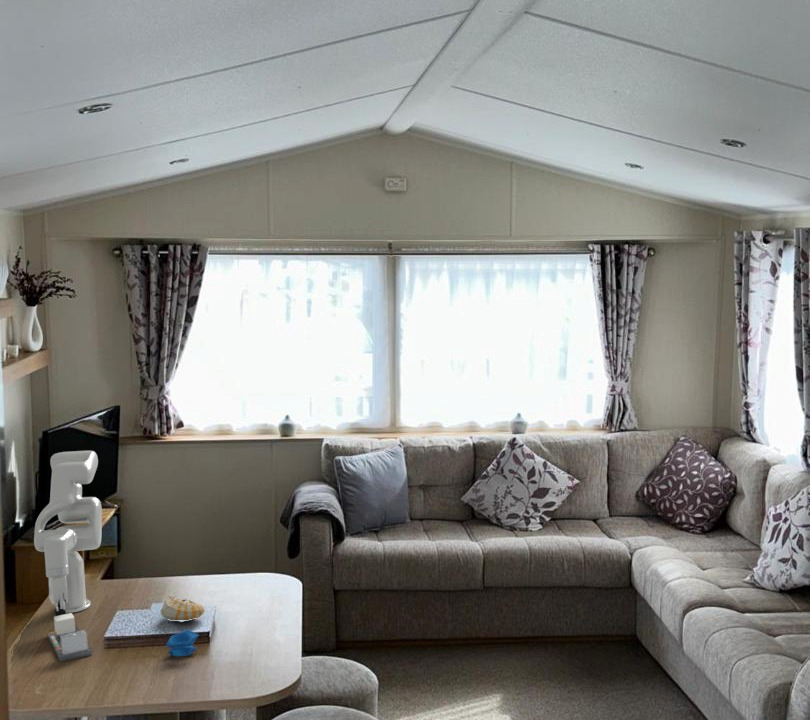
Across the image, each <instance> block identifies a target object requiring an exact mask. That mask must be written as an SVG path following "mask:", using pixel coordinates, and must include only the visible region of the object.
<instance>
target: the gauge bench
mask: <svg viewBox="0 0 810 720" xmlns="http://www.w3.org/2000/svg"><path fill="white" fill-rule="evenodd" d="M51 632H52V631H49V632H47V638H48V639H49V641H50V643H51V645H52V647H53V650H54V652H55V654H56V655H57V657H58V659H59V661H60V662H61V663H63V662H67V661H72V660H74V659H79V658H80V659H81V658H84V657H87V656H88V657H89V656H92V655H93V654H92V653H93V652H92V649H91V647H90V645H89V643H88V633H87V632H86V629H84V630H80V628H79V627H78V626H75V632H70V633H66V634H61V635H57V634H56V633H54V634H50V633H51ZM53 632H55V630H54V631H53Z"/></svg>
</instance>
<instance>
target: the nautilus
mask: <svg viewBox="0 0 810 720" xmlns="http://www.w3.org/2000/svg"><path fill="white" fill-rule="evenodd" d="M168 597H169V599H166V600H165V601H164V603H163V605H162V608H161V609H160V614H161V616H162V617H163V618H164V619H165V618H166V619H170V620H189V619H193V618H197V619H199V618H200V617H202V616H203V615H204V613H205V607H204V606H203V605H201V604H200V603H196V602H194V601H191V600H189V599H182V600H181V599H179V598H177V597H175V596H173V597H171V596H169V595H168ZM201 615H202V616H201ZM198 617H199V618H198ZM166 619H165V620H166Z"/></svg>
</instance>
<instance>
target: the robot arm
mask: <svg viewBox="0 0 810 720" xmlns="http://www.w3.org/2000/svg"><path fill="white" fill-rule="evenodd" d="M49 461H50V467H51V477H50V478H51V479H50V494H49V495H50V497H49V503H48V504H47V505H46V506H44V508H43V509H42V510H41V512H40V513H39V515H38V517H37V519H36V521H35V524H34V537H33V544H34V548H35V550H36V551H38V552H41V553H44V562H45V576H46V578H48V597H49V601H50V602H51V604H52V605H53V606H54V608H55V611H54V614H55V615H54V616H59V615H64V614H69V613H72V614H74V613H77V612H82V611H84V610H87V609H88V608H90V607H91V605H92V603H91V600H89V599H88V598H87V595H86V593H87V592H86V583H85V581H86V577H85V566H84V565H85V564H84V559H83V557H82V556H81V555H80V553H79V551H90V550H91V551H92V550H97V549H98V548H100V546H101V543H102V528H103V527H102V525H103V524H102V522H103V508H102V504H101V503H102V502H101V500H100V499H99V498H97V497H96V496H83V486H82V485H88V484H90V483H92V481H93V480H94V477H95V474H96V471H97V470H98V469H97V468H98V465H99V459H98V455H97V453H96V451H94V450H76V451H62V452H57V453H54V454H52V456H51V457H50V460H49ZM55 516H57V517H58V518H57V519H58V520H59V522H60V523H63V524H73V525H64V526H60V527H57V528H56V529H47V530H45V527H46V524H47V523H48V521H50V520H51V519H52V518H53V517H55ZM79 523H80V524H79ZM82 523H87V524H82Z"/></svg>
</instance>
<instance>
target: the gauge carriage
mask: <svg viewBox="0 0 810 720" xmlns="http://www.w3.org/2000/svg"><path fill="white" fill-rule="evenodd" d="M73 614H74V613H66V614H64V615H59V616H56V615H54V616H53V624H54V625H53V626H54V631H55V632H54V631H50V632H51V633H50V634H54V633H56V634H57V635H61V634H66V633H70V632H75V627H76V622H75V616H74V615H73Z"/></svg>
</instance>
